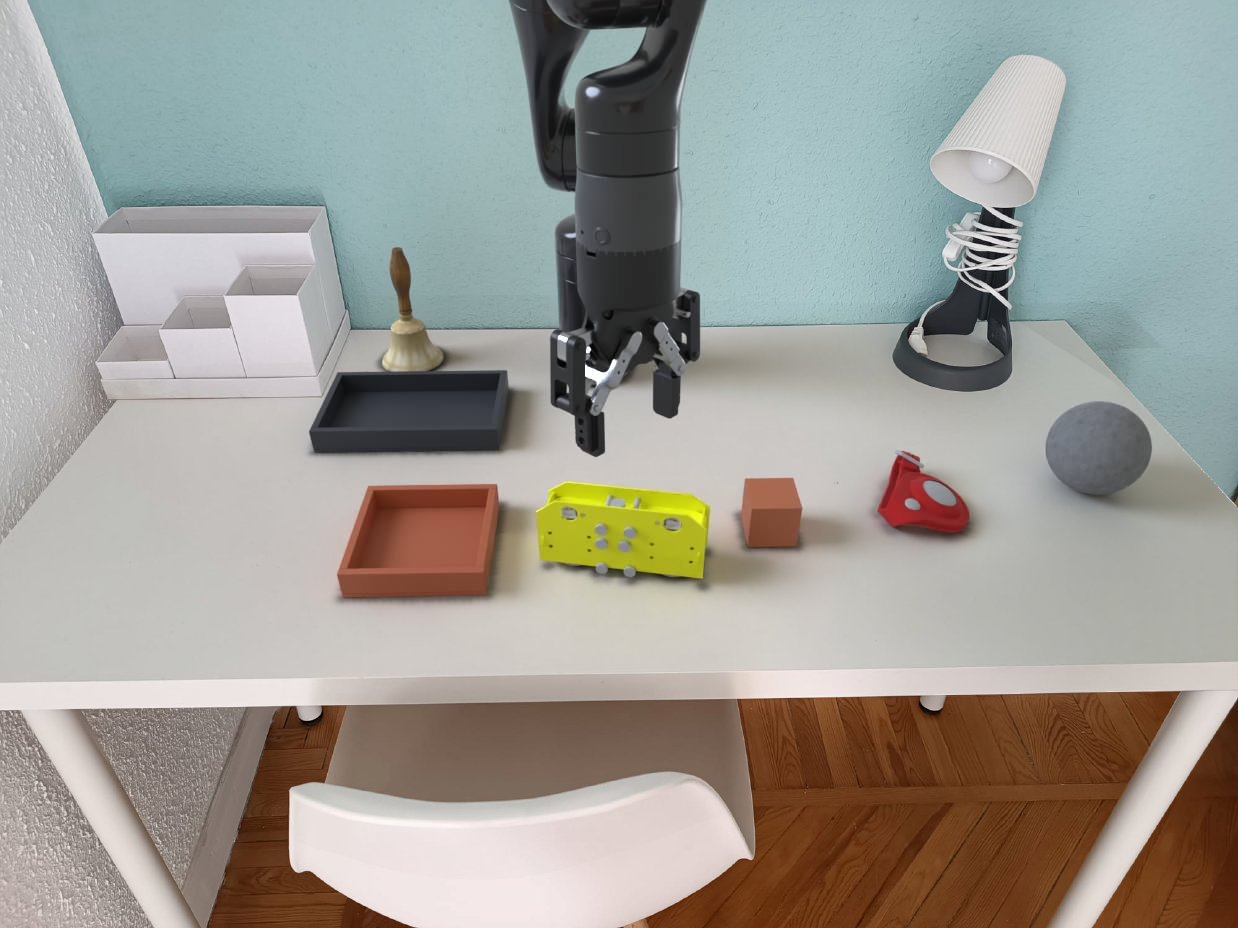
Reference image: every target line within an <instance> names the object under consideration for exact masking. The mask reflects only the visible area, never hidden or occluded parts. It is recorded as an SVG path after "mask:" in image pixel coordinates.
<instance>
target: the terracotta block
mask: <svg viewBox="0 0 1238 928" xmlns="http://www.w3.org/2000/svg"><path fill="white" fill-rule="evenodd" d="M742 492H743V493H742V503H741V510H740V511H741V512H740V518H741V522H742V527H743V532H744V537H745V542H746V546H747V548H777V547H778V548H781V547H782V548H783V547H784V548H785V547H786V548H787V547H788V548H789V547H797V546H798V540H799V535H800V534H799V533H800V527H801V520H802V515H803V506H802V502H801V499H800V496H799V492H798V489H797V485H796V482H795V478H794V477H751V478H748V477H747V478H744V484H743V491H742Z"/></svg>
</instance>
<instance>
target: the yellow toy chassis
mask: <svg viewBox="0 0 1238 928" xmlns="http://www.w3.org/2000/svg"><path fill="white" fill-rule="evenodd" d="M710 512H711V506H710V505H708V503H706V502H704V501H703V500H702V499H699V498H698V497H697V496H695V495H694V494H692V493H685V492H677V491H666V490H656V489H645V488H636V487H626V486H617V485H606V484H597V483H588V482H587V483H586V482H577V481H569V480H568V481H567V480H566V481H565V482H562V483H560V484H558V485H556V486H554V487H552V488H550V489H548V498H547V500H546V504H545V505H544V506H542V507H541V508H539V509H537V510H536V511H535V515H536V527H537V529H536V530H537V541H538V553H539V554H538V555H539V560H540V561H545V562H555V563H563V564H566V565H567V566H570V567H578V566H590V567H595V571H596V572H597V573H598V574H600V575H605V574H607V573H608V570H609V569H616V570H623V575H624V576H626V577H627V578H633V577H635V576H636V572H640V573H641V572H642V573H650V574H651V573H652V574H659V575H663V576H665V577H669V578H679V577H686V578H694V579H703V578H704V568H705V555H706V547H708V542H709V541H708V540H709V527H710V516H711V515H710V514H711V513H710Z"/></svg>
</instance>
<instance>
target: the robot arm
mask: <svg viewBox="0 0 1238 928" xmlns="http://www.w3.org/2000/svg"><path fill="white" fill-rule="evenodd" d="M707 1H708V0H508V3H509V8H510V12H511V17H512V20H513V24H514V28H515V33H516V36H517V41H518V46H519V51H520V55H521V60H522V65H523V70H524V76H525V81H526V89H527V96H528V104H529V113H530V119H531V127H532V128H531V129H532V135H533V144H534V151H535V156H536V158H535V159H536V162H537V168H538V171H539V174H540V177H541V179H542V181H543V183H544V184H545V185H546V187H548V188H549V189H550V190H554V191H557V192H564V193H571V194H574V213H573V214H570V215H568V216H566V217H564V218H562V219H561V220H560V221H559V222H558V223H557V224H556V226H555V228H554V249H555V267H556V268H555V269H556V270H555V271H556V288H557V306H558V307H557V311H558V327H559V328H558V329H554V330H553V331H552V332H551V334H550V337H549V347H550V349H549V363H550V365H549V367H550V368H549V370H550V371H549V372H550V373H549V374H550V375H549V376H550V377H549V378H550V381H549V383H550V384H549V385H550V387H549V388H550V404H551V406H553V407H554V408H557V409H559V410H562V411H564V412H566V413H568V414H570V415H572V416H573V417H574V435H575V444H576V447H578V448H580V450H581V451H582V452H584V453H585V454H588V455H590V456H592V457H594V458H598V457H600V456H602V455H604V454H605V453H606V432H605V431H606V426H605V425H606V423H605V420H606V419H605V412H604V411H603V409H604V406H605V404H606V403H607V400H608V398H609V396H610V393H611V392H612V390H616V389H617V388H619V386H620V384H621V381H622V380H623V379H624V378H625V377H626V376H628V374H629V373H630V372H631V371H632V370H634V369H635V368H636V367H638V366H639V365H646V364H648V363H650V362H651V364H652V365H653V366H654V367H655V368H656V369H655V370H654V371H652V410H653V412H654V413H655V414H656V415H658V416H662V417H663V418H667V419H669V420H670V419H673V418H674V417H677V416H678V414H679V407H680V404H681V389H682V388H681V383H682V382H681V380H682V375H683V374H684V373H685V371H686V368H687V365H688V364H689V362H693V363H695V362H697V361H698V360H699V358H700V356H701V294H700V293H699V292H698V291H695V290H692V289H688V288H684V287H681V275H682V274H681V273H682V272H681V271H682V268H681V266H682V236H683V235H682V233H683V232H682V231H683V194H682V185H681V175H680V174H681V173H680V171H681V170H680V161H681V160H680V156H681V155H680V153H681V121H682V120H681V118H682V103H683V96H684V90H685V86H686V82H687V76H688V72H689V68H690V63H691V59H692V55H693V51H694V47H695V43H696V40H697V37H698V33H699V29H700V25H701V23H702V19H703V16H704V13H705V9H706V5H707ZM641 28H645V32H644V34H643V37H642V40H641V42H640V44H639V46H638V47H637V50H636V51H635V53H634V54H633V56H632V57H631V58H629V59H628V60H626V61H624V62H621V63H620V64H617V65H614V66H610V67H607V68H604V69H600V70H596V71H594V72H591V73H589V74H587V75H585V76H584V77H583V78H581V79H580V80H579V81H578V84H577V85H576V88H575V92H574V108H573V107H570V106H569V105H568V103H567V101H566V95H565V87H566V86H565V84H566V81H567V79H568V76H569V74H570V71H571V69H572V66H573V64H574V62H575V60H576V58H577V56H578V55H579V53H580V51H581V49H582V47H583V46H584V44H585V43H586V40H587V39H588V37H589V35H590V33H591V31H595V30H596V31H597V30H598V31H599V30H619V29H641ZM683 334H684V335H685V338H686V339H685V342H683ZM592 386H595V388H594V389H593V391H592V394H591V395H588V393H589V391H590V390H591V387H592Z"/></svg>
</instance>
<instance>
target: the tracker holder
mask: <svg viewBox="0 0 1238 928" xmlns="http://www.w3.org/2000/svg"><path fill="white" fill-rule="evenodd" d="M894 454H895V455H896V457H895V459H894V461H893V464H892V466H891V469H890V475H889V479H888V483H887V486H886V488H885V491H884V493H883V495H882V498H881V501H880V503H879V506H878V508H877V512H878V513H879V515H880V516H881V517H882V519H884V521H886V523H887V524H888V525H889V526H890V527H892V528H893V527H898V526H902V525H906V526H917V527H918V526H919V527H924V528H927V529H930V530H934V531H938V532H945V533H952V534H954V533H960V532H961V531H963V530H964V529H965V527H966V526H967V524H968V523H969V522H970V518H971V517H970V516H971V515H970V510H969V506H968V505H967V504H966V502H965V501H964V499H963V498H962V497H961V495H960V494H959V493H958V492H957V491H956V490H955V489H954V488H952V487H951V486H949V485H948V484H947V483H946V482H944V481H943V480H940V479H939V478H937V477H934V476H932V475H930V474H927V473H925V472H922V471H921V469H923V468H924V467H925V464H923V463H922V462H921V457H920V456H918V455H916V454H913V453H912V452H910V451H905V450H897V449H896V450H894Z"/></svg>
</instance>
